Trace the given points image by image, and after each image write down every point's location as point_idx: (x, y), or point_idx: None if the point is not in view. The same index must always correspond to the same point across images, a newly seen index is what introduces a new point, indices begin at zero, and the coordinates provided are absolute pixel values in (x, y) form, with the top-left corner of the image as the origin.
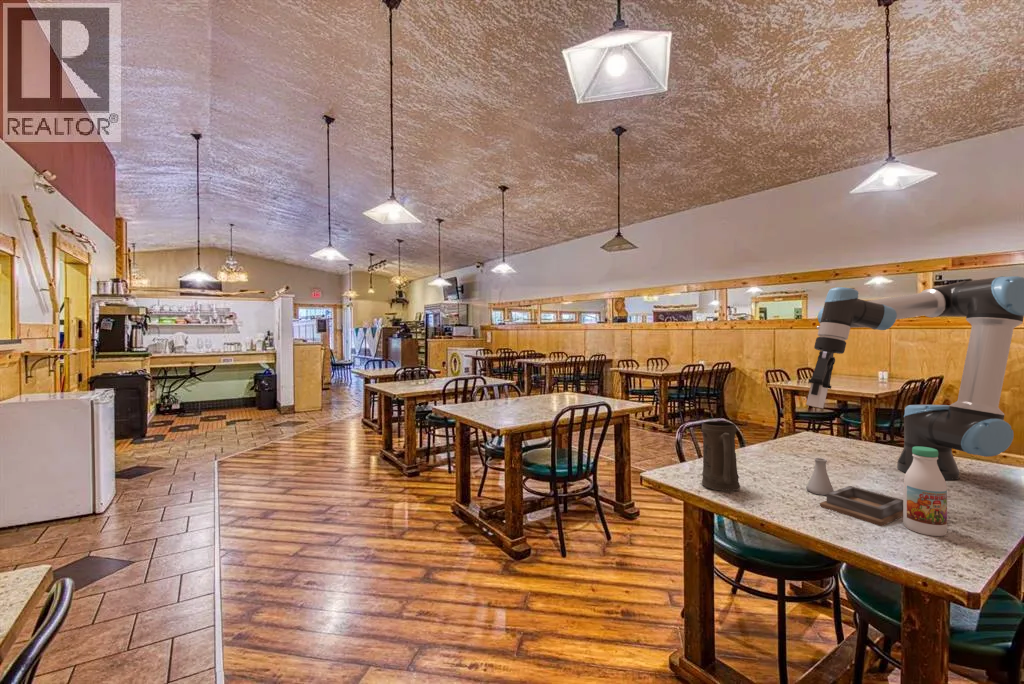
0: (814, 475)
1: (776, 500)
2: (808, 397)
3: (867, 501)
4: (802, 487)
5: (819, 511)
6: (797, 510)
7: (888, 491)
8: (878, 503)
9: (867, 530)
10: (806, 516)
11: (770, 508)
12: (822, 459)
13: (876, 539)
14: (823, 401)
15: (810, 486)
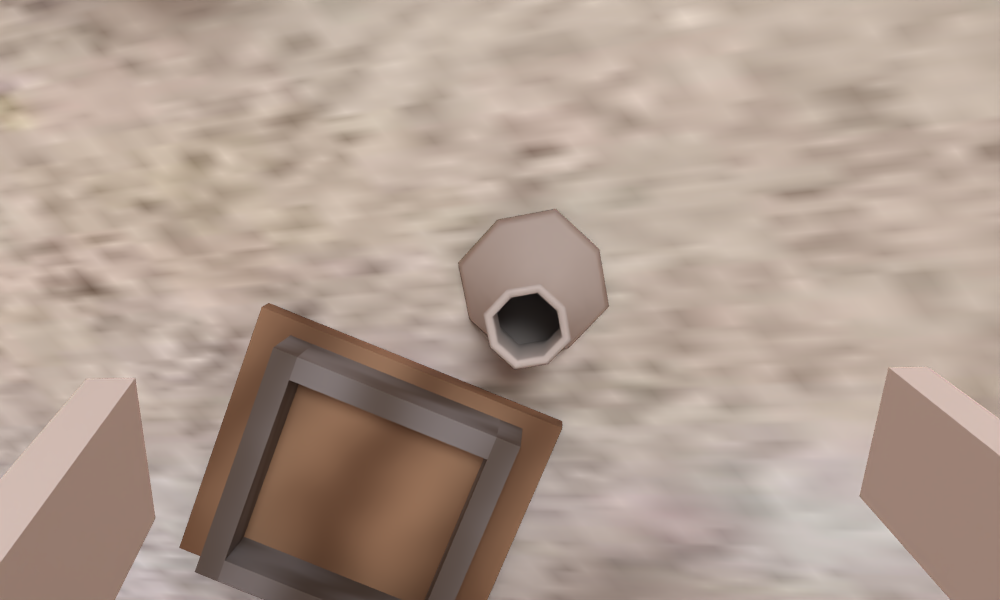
0: (501, 271)
1: (211, 99)
2: (22, 463)
3: (451, 501)
4: (554, 188)
5: (195, 307)
6: (133, 215)
7: (777, 582)
8: (447, 544)
9: None
10: (80, 262)
11: (63, 95)
12: (562, 335)
13: None
14: (931, 559)
15: (492, 240)
